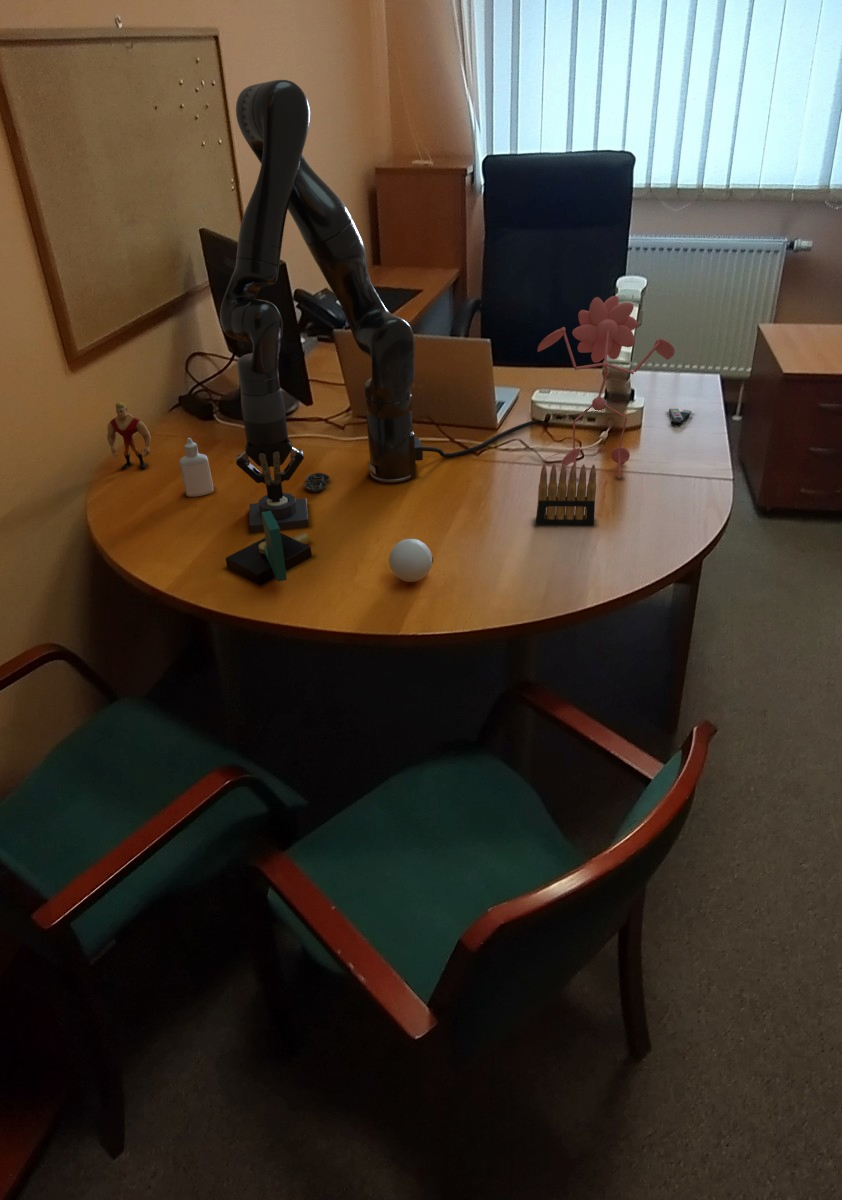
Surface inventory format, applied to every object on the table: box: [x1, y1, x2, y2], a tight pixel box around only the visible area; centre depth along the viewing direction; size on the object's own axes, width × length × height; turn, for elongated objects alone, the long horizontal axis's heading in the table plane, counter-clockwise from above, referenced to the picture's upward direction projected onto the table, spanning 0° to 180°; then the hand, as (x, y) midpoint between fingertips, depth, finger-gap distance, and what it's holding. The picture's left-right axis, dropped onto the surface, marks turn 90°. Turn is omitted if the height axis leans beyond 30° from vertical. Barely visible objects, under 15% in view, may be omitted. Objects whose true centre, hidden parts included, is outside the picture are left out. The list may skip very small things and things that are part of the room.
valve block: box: [225, 532, 313, 586], centre depth 150 cm, size 15×9×2 cm, turn 139°
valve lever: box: [259, 511, 288, 583], centre depth 142 cm, size 12×3×10 cm, turn 21°
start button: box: [266, 496, 288, 507], centre depth 161 cm, size 4×4×2 cm
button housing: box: [248, 492, 310, 534], centre depth 162 cm, size 11×9×4 cm
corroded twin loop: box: [303, 472, 330, 493], centre depth 174 cm, size 5×8×1 cm, turn 0°
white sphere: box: [388, 538, 434, 583], centre depth 143 cm, size 10×7×7 cm
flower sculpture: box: [536, 295, 676, 479], centre depth 169 cm, size 15×26×35 cm, turn 90°
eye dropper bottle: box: [179, 437, 215, 498], centre depth 170 cm, size 4×6×12 cm
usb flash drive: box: [668, 408, 693, 427], centre depth 198 cm, size 9×5×1 cm, turn 147°
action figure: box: [106, 401, 152, 470], centre depth 181 cm, size 10×4×15 cm, turn 88°
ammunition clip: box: [535, 463, 597, 527], centre depth 155 cm, size 11×2×12 cm, turn 86°
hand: (275, 500), depth 161 cm, fingers closed
